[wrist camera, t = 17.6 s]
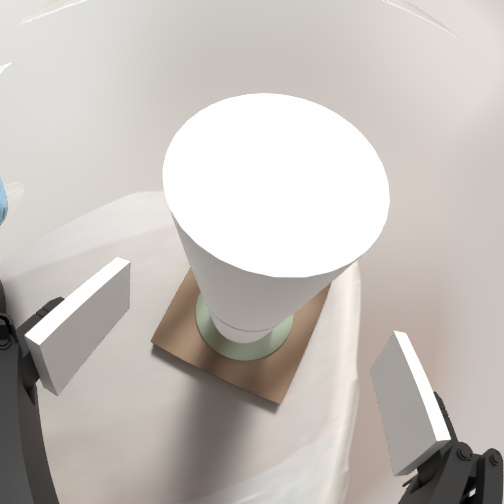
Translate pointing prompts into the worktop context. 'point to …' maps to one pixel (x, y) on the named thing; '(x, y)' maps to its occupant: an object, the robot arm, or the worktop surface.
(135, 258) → the worktop surface
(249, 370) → the board
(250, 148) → the cylindrical container
